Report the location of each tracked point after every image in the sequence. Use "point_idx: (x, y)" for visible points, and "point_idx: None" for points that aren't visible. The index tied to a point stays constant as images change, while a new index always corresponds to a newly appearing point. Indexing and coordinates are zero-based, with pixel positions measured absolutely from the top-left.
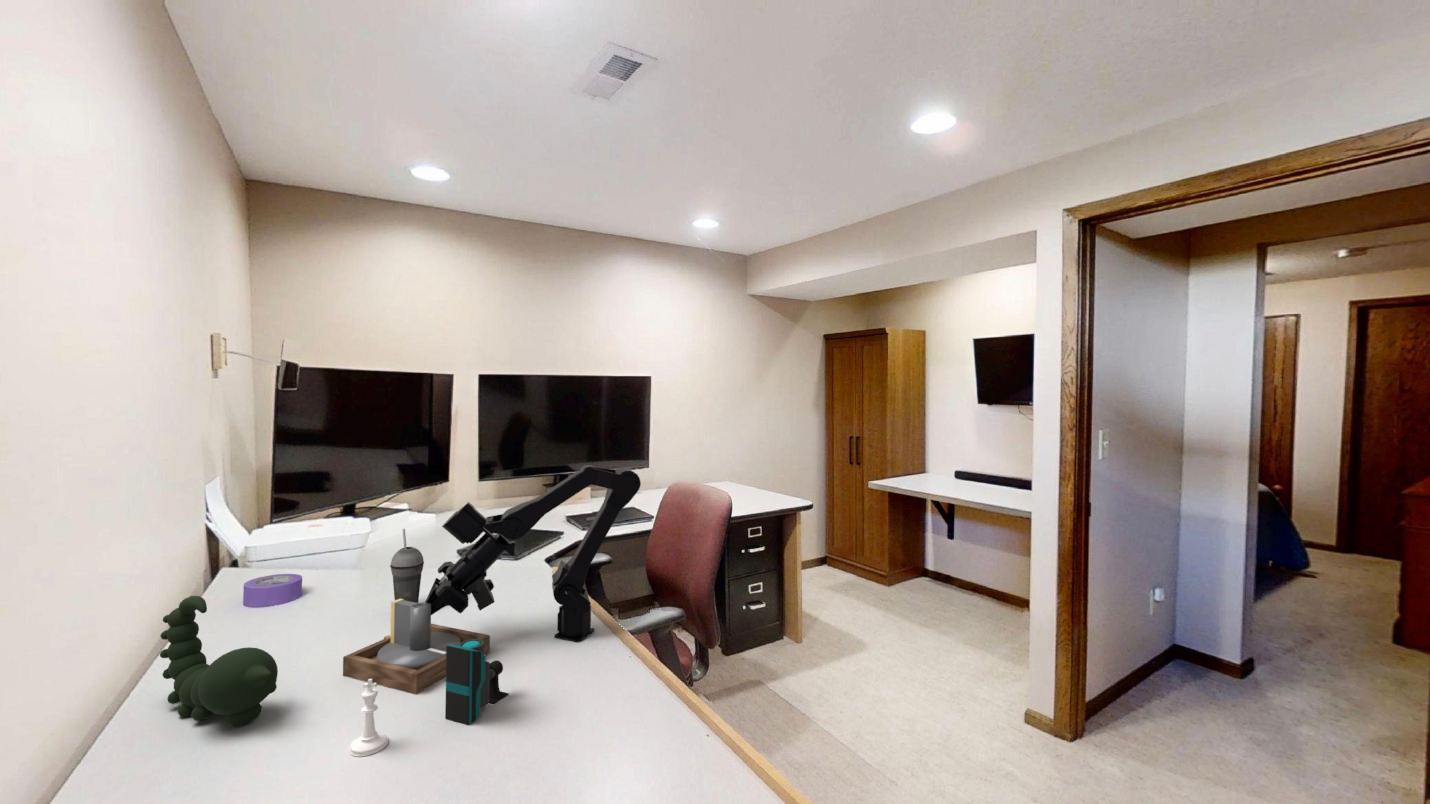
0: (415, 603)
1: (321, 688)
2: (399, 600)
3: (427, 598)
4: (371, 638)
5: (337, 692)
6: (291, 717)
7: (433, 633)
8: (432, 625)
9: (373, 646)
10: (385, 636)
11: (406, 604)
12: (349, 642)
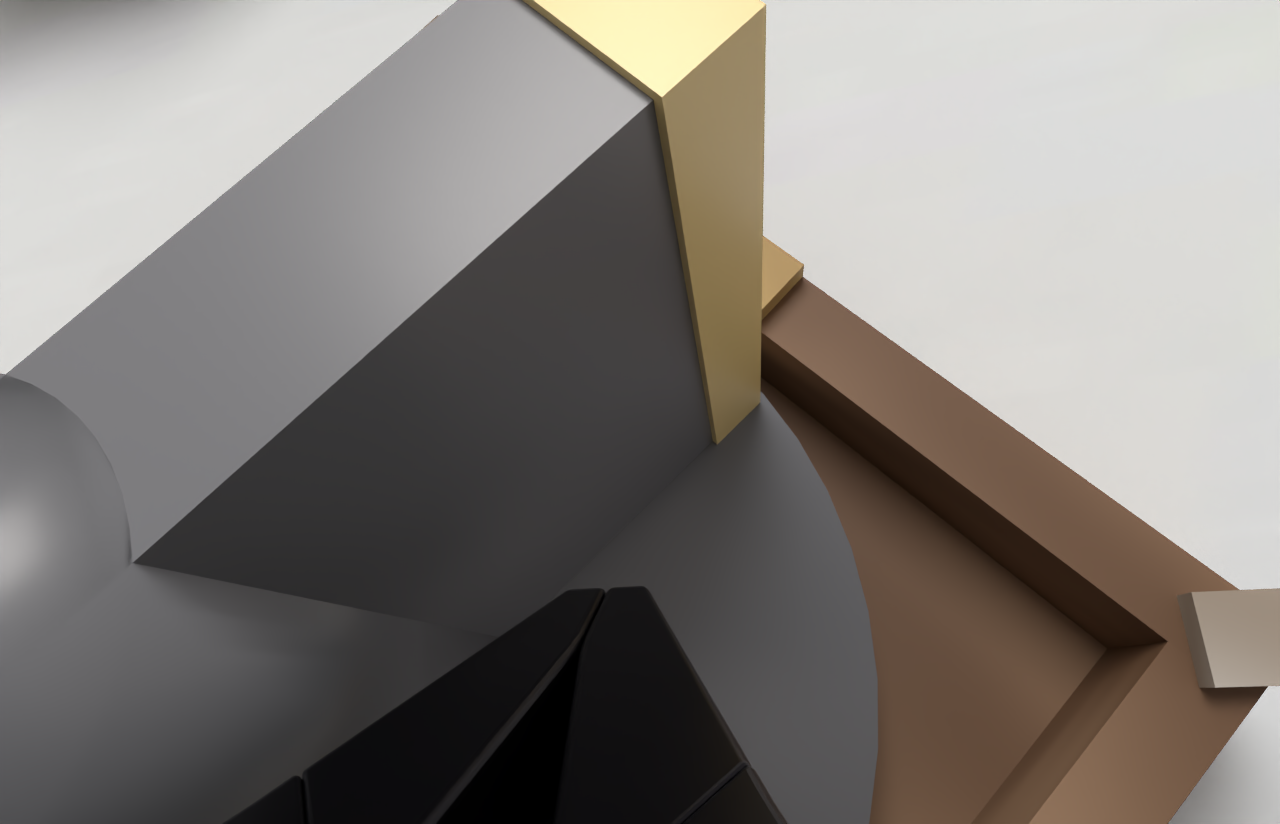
0: (192, 456)
1: (352, 62)
2: (606, 19)
3: (557, 809)
4: (1264, 145)
5: (242, 163)
6: (63, 31)
7: (808, 821)
8: (1112, 796)
9: None
10: (770, 243)
11: (238, 238)
12: (1188, 3)
